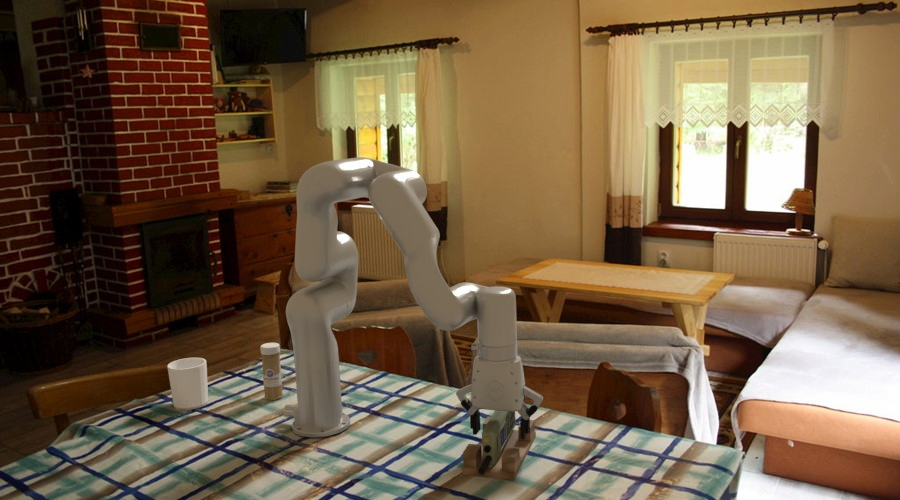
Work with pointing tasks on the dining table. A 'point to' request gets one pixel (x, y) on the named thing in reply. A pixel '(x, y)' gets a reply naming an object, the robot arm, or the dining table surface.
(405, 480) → the dining table surface
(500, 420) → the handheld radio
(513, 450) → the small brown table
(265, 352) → the sprinkles bottle
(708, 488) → the dining table surface
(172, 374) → the mug
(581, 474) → the dining table surface
